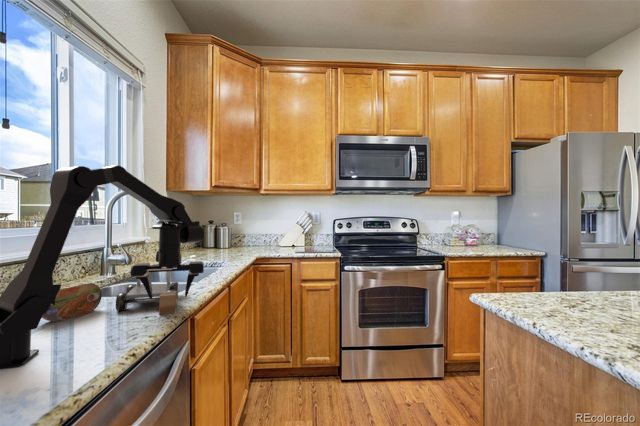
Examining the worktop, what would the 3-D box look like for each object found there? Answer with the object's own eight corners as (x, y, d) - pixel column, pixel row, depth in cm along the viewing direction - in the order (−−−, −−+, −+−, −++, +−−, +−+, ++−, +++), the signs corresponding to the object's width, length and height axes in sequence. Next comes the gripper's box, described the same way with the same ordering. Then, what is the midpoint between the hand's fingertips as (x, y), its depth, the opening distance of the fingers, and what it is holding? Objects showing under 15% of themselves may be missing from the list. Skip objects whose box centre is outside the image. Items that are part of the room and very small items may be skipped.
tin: (43, 326, 76) (44, 292, 76) (35, 324, 77) (36, 291, 77) (102, 309, 91) (102, 280, 91) (94, 308, 92) (95, 280, 92)
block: (174, 314, 87) (175, 295, 87) (159, 315, 86) (159, 296, 86) (176, 309, 92) (176, 291, 92) (161, 310, 90) (162, 292, 90)
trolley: (173, 308, 92) (174, 273, 92) (115, 313, 87) (116, 275, 87) (178, 294, 108) (179, 265, 108) (129, 298, 103) (130, 266, 103)
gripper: (204, 241, 100) (203, 289, 100) (139, 242, 93) (138, 293, 93) (204, 244, 89) (202, 298, 89) (130, 245, 83) (129, 303, 83)
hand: (168, 297), depth 89 cm, fingers open, 9 cm apart
